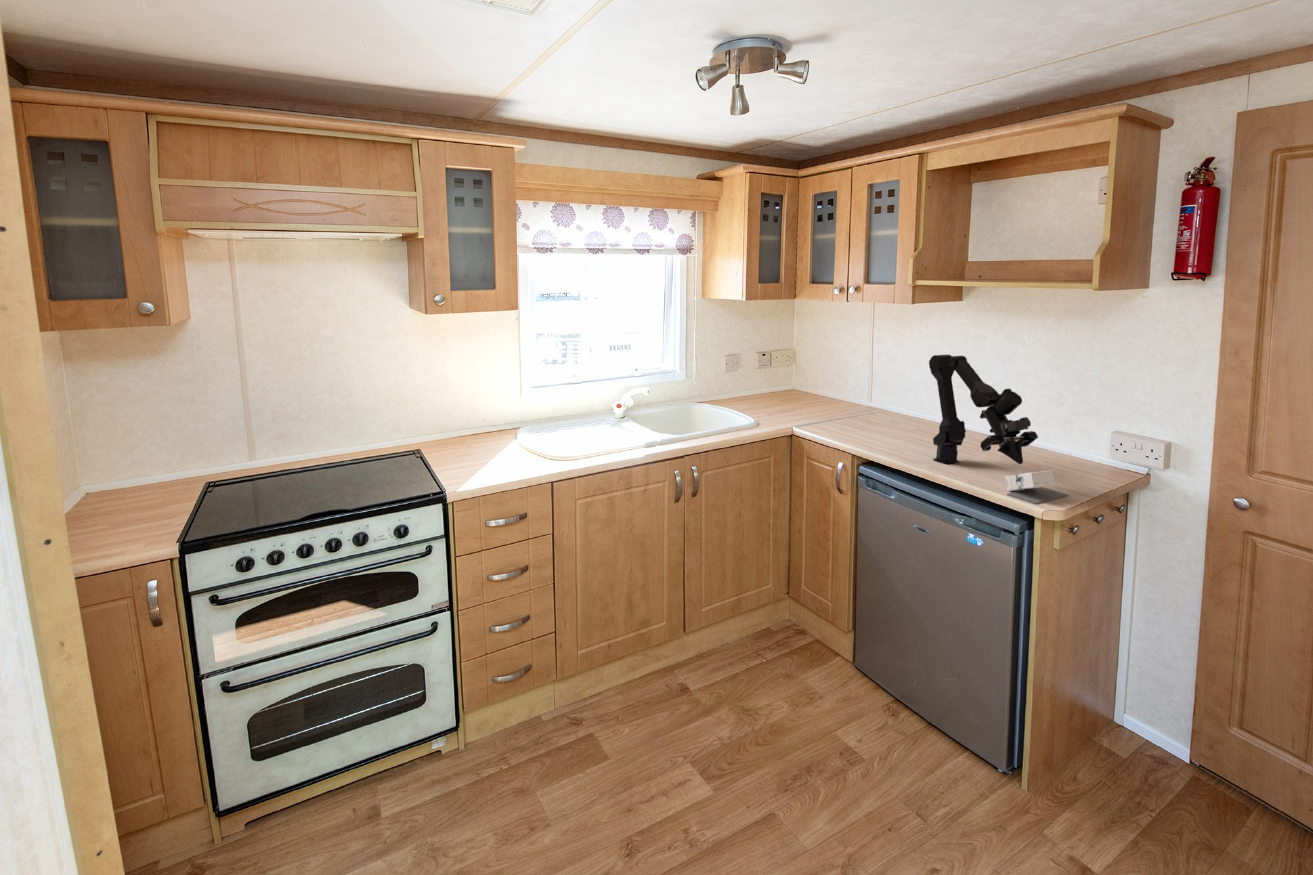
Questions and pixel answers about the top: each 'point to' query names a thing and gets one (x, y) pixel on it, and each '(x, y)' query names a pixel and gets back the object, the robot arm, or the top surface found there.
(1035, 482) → the ink box
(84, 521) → the top surface
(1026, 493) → the mat
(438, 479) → the top surface
